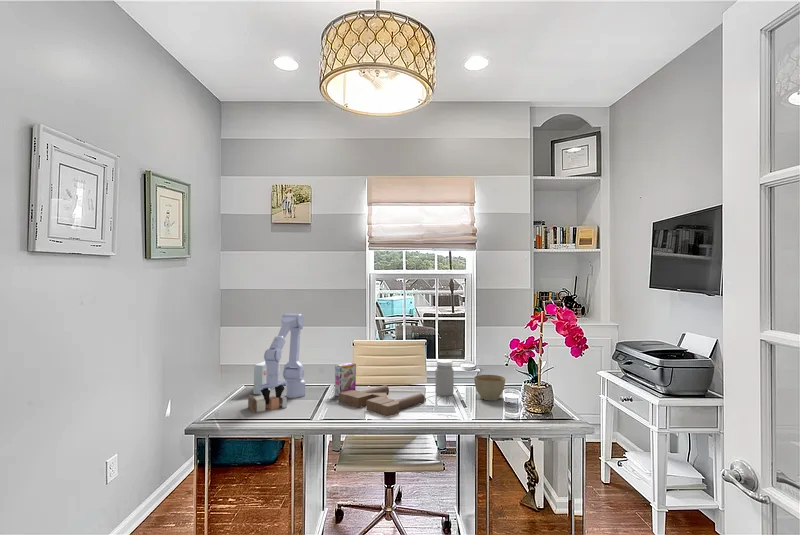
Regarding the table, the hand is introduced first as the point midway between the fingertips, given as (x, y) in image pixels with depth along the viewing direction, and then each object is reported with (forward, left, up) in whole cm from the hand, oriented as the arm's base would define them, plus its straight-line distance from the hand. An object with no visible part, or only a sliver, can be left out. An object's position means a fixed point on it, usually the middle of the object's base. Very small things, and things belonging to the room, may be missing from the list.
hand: (272, 402), depth 223 cm
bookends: (-52, +15, -4) cm, 54 cm away
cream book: (+6, 0, -3) cm, 7 cm away
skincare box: (-7, -39, -3) cm, 40 cm away
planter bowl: (-104, +35, -3) cm, 110 cm away
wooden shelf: (+1, -1, -3) cm, 3 cm away
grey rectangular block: (-5, 0, -2) cm, 6 cm away
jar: (-88, +17, -3) cm, 90 cm away
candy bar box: (-41, -8, -3) cm, 42 cm away
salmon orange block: (0, 0, -3) cm, 3 cm away
